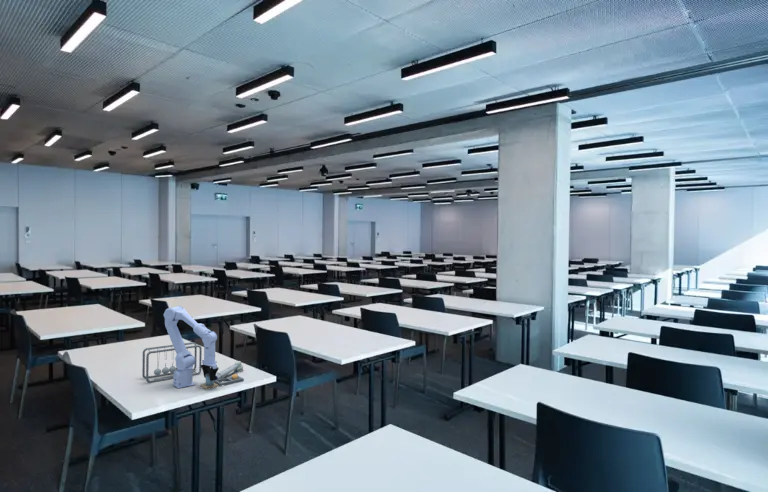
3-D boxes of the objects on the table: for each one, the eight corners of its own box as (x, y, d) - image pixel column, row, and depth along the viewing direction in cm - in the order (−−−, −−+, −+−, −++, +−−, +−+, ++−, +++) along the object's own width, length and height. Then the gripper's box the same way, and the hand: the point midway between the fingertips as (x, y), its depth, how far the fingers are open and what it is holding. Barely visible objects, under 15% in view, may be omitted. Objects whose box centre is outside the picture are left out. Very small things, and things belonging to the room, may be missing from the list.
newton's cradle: (146, 383, 249) (146, 352, 249) (142, 379, 257) (142, 348, 257) (201, 374, 268) (201, 344, 268) (196, 370, 276) (196, 341, 276)
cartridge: (207, 386, 243) (207, 375, 243) (203, 384, 247) (203, 373, 247) (215, 384, 247) (215, 373, 247) (212, 382, 250) (212, 371, 250)
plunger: (233, 381, 255) (233, 375, 255) (231, 380, 257) (231, 374, 257) (238, 380, 257) (238, 374, 257) (236, 379, 259) (236, 373, 259)
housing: (220, 386, 247) (220, 383, 247) (214, 382, 252) (214, 380, 252) (243, 381, 257) (243, 378, 257) (237, 377, 262) (237, 375, 262)
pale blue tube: (210, 375, 255) (237, 358, 279) (211, 386, 256) (237, 368, 280) (218, 376, 254) (244, 359, 277) (219, 387, 254) (245, 369, 278)
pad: (205, 389, 242) (205, 387, 242) (200, 386, 246) (200, 384, 246) (218, 386, 246) (218, 384, 246) (212, 383, 251) (212, 381, 251)
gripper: (222, 355, 244) (222, 380, 244) (211, 350, 254) (210, 374, 254) (209, 358, 239) (209, 383, 239) (198, 352, 249) (198, 376, 249)
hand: (209, 378), depth 246 cm, fingers open, 7 cm apart
